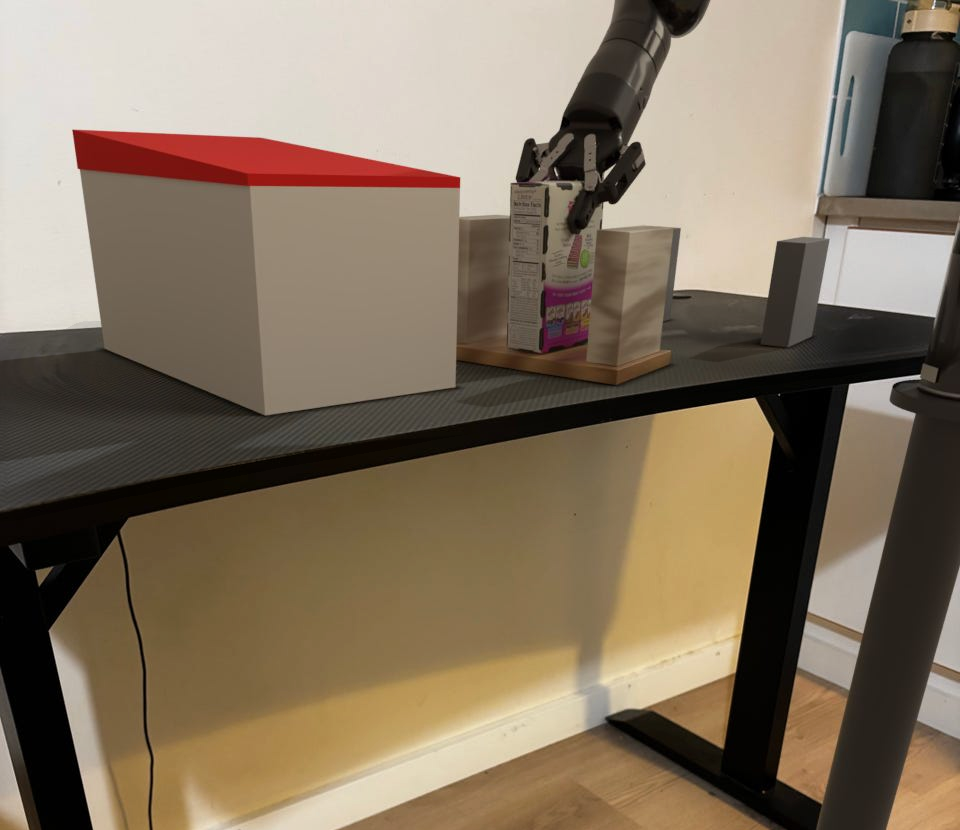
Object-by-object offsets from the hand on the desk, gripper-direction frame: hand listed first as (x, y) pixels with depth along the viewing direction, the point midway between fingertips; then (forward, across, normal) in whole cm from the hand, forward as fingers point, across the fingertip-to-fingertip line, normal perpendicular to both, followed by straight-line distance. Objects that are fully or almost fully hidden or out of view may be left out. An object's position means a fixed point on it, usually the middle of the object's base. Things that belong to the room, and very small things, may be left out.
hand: (548, 226), depth 99 cm
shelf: (+9, 0, +11) cm, 14 cm away
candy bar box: (+8, 0, +10) cm, 13 cm away
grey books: (-15, +7, +34) cm, 38 cm away
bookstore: (+25, -20, -5) cm, 32 cm away
